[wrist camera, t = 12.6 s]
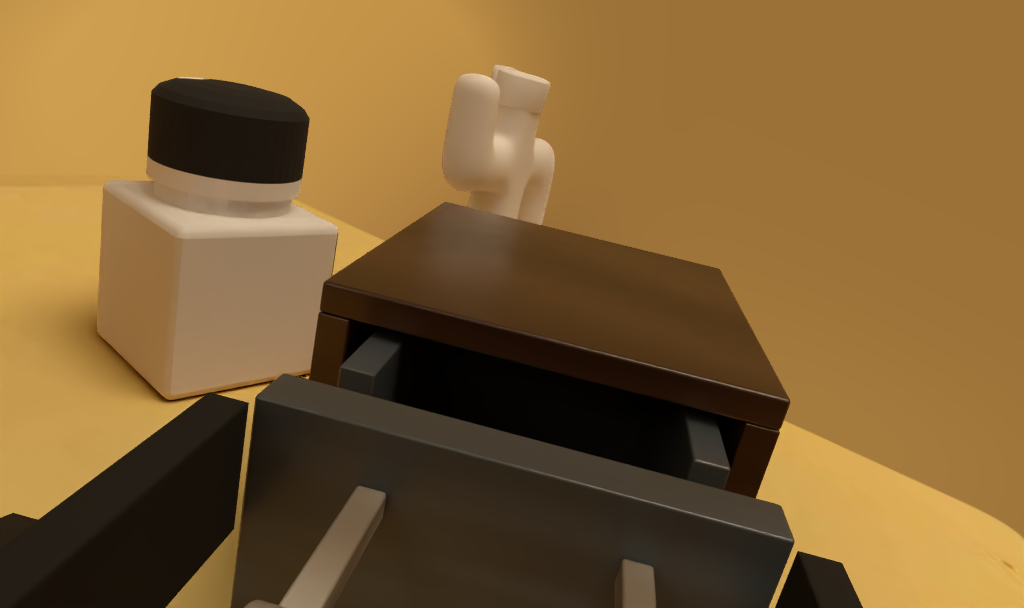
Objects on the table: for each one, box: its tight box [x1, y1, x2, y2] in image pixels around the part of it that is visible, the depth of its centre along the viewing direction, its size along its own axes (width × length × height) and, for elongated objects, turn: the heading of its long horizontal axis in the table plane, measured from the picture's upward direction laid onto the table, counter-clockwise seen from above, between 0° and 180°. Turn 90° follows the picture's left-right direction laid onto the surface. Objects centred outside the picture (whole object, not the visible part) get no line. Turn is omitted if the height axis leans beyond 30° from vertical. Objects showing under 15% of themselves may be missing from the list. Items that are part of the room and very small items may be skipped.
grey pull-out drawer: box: [230, 327, 794, 608], centre depth 17 cm, size 16×10×8 cm, turn 172°
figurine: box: [442, 65, 555, 225], centre depth 40 cm, size 7×9×15 cm
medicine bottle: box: [97, 77, 338, 400], centre depth 32 cm, size 7×7×12 cm
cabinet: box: [309, 202, 790, 498], centre depth 24 cm, size 13×11×10 cm
